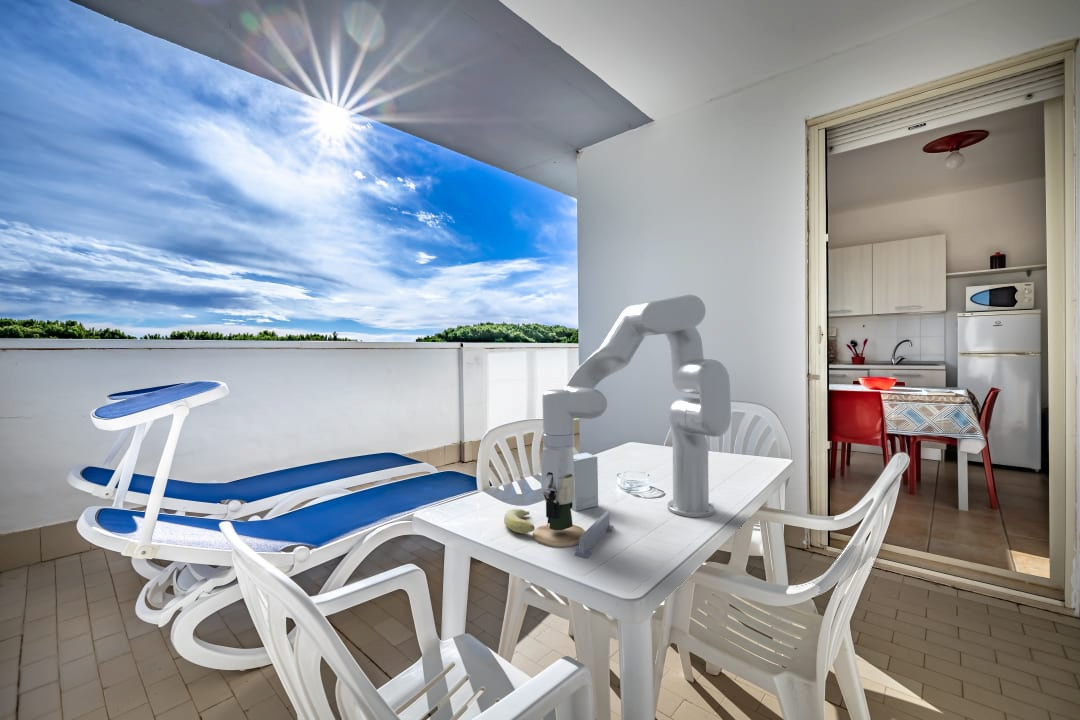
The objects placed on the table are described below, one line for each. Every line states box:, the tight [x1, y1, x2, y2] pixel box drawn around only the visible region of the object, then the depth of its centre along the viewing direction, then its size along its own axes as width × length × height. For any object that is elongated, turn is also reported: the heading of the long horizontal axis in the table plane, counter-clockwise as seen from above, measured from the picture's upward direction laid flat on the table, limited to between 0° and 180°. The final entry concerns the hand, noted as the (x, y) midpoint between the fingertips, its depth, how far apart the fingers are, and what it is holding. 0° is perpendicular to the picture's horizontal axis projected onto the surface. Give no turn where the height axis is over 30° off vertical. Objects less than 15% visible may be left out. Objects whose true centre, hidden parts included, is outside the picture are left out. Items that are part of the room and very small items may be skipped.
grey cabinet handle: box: [574, 511, 615, 559], centre depth 107 cm, size 18×3×4 cm, turn 153°
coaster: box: [532, 523, 586, 548], centre depth 110 cm, size 13×13×1 cm
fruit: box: [503, 508, 536, 535], centre depth 116 cm, size 7×15×3 cm, turn 7°
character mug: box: [546, 474, 574, 530], centre depth 110 cm, size 11×7×13 cm, turn 24°
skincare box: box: [571, 452, 599, 512], centre depth 131 cm, size 8×6×15 cm
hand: (559, 512), depth 110 cm, fingers closed on character mug, 7 cm apart
